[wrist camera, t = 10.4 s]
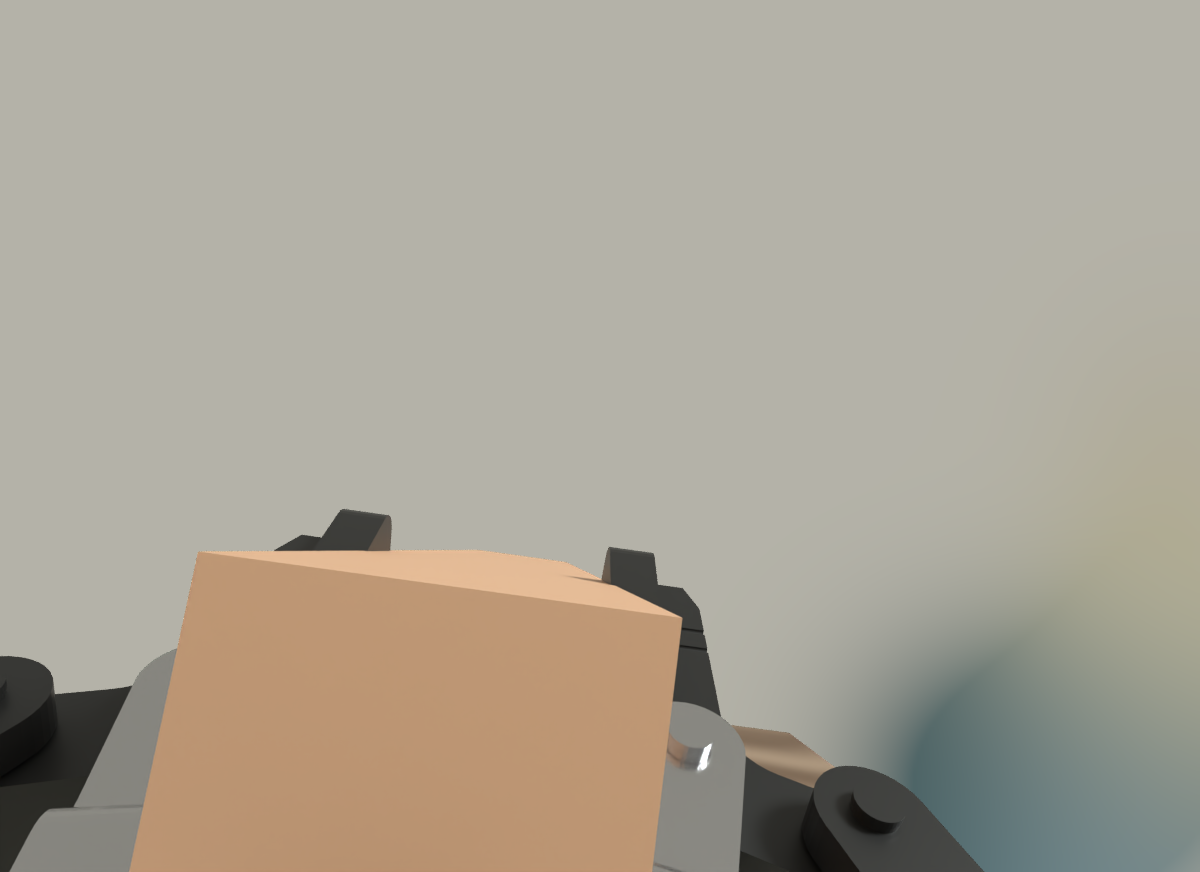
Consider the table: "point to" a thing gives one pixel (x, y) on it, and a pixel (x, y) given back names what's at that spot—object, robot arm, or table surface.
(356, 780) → the bar
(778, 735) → the wooden knife block
